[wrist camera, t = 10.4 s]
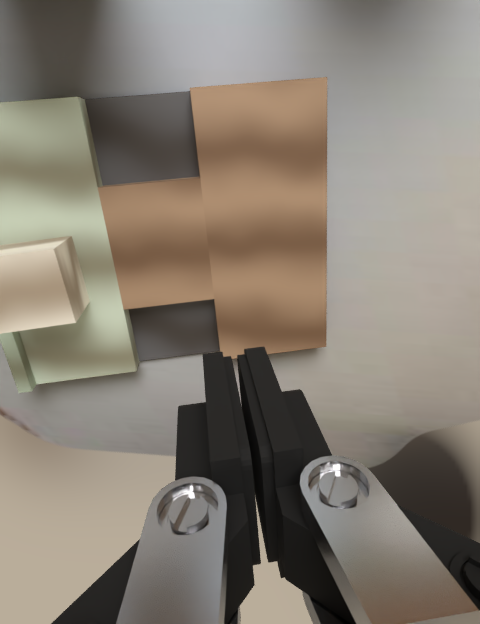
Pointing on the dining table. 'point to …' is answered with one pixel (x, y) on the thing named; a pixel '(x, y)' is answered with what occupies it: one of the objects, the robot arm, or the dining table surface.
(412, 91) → the dining table surface
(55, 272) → the block
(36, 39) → the dining table surface
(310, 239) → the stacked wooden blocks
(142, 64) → the dining table surface
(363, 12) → the dining table surface
